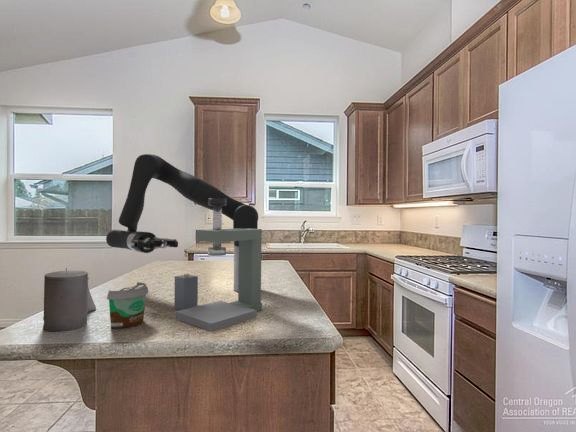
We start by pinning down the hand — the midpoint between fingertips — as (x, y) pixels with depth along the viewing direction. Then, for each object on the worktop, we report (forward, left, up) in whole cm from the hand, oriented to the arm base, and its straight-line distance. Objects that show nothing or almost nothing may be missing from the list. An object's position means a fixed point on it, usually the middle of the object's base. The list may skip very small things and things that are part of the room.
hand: (165, 244), depth 113 cm
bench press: (-4, +27, -19) cm, 33 cm away
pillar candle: (+30, +3, -19) cm, 36 cm away
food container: (+18, +15, -19) cm, 30 cm away
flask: (+22, -9, -19) cm, 31 cm away
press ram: (0, +27, -1) cm, 27 cm away
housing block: (0, +12, -19) cm, 23 cm away
